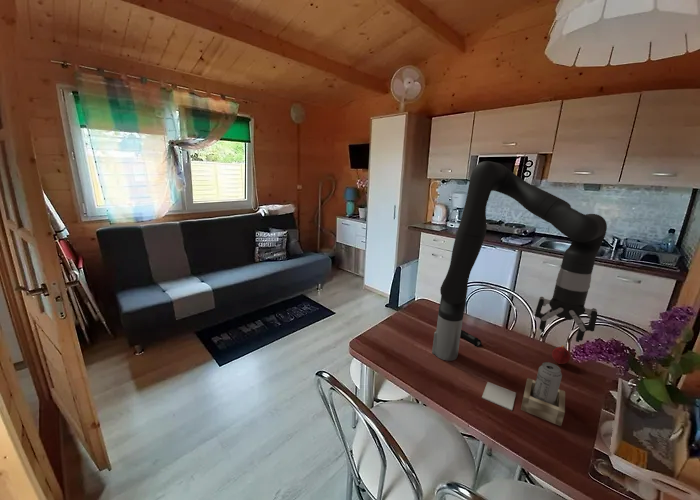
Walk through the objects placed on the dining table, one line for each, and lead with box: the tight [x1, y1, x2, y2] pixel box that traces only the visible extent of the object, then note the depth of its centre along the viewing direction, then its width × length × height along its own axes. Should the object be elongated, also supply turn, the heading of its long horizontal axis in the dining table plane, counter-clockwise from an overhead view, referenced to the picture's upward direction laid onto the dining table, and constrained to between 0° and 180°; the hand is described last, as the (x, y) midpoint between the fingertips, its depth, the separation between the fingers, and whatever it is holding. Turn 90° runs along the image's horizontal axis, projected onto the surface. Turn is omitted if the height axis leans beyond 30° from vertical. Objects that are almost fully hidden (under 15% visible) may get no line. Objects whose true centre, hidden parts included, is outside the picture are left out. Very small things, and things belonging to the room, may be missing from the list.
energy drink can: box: [531, 361, 563, 406], centre depth 95 cm, size 6×6×15 cm
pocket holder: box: [520, 377, 566, 427], centre depth 96 cm, size 11×11×5 cm
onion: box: [551, 344, 571, 365], centre depth 117 cm, size 6×6×8 cm
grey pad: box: [481, 381, 517, 411], centre depth 101 cm, size 9×9×1 cm
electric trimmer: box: [460, 329, 483, 348], centre depth 134 cm, size 4×16×3 cm, turn 32°
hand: (559, 335), depth 89 cm, fingers open, 8 cm apart
